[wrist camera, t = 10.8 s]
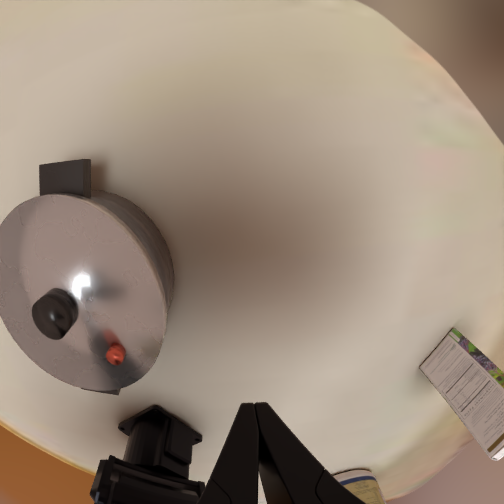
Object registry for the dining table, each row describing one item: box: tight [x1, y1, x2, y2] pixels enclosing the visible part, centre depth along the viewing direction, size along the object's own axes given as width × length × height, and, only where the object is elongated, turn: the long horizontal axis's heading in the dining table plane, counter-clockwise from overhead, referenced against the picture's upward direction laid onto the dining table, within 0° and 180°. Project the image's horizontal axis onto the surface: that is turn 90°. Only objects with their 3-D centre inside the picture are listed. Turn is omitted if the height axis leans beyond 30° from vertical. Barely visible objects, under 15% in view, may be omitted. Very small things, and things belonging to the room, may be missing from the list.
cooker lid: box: [0, 193, 167, 391], centre depth 13 cm, size 13×13×3 cm
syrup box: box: [420, 328, 504, 460], centre depth 18 cm, size 6×6×14 cm
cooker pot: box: [39, 159, 174, 395], centre depth 17 cm, size 13×14×4 cm
